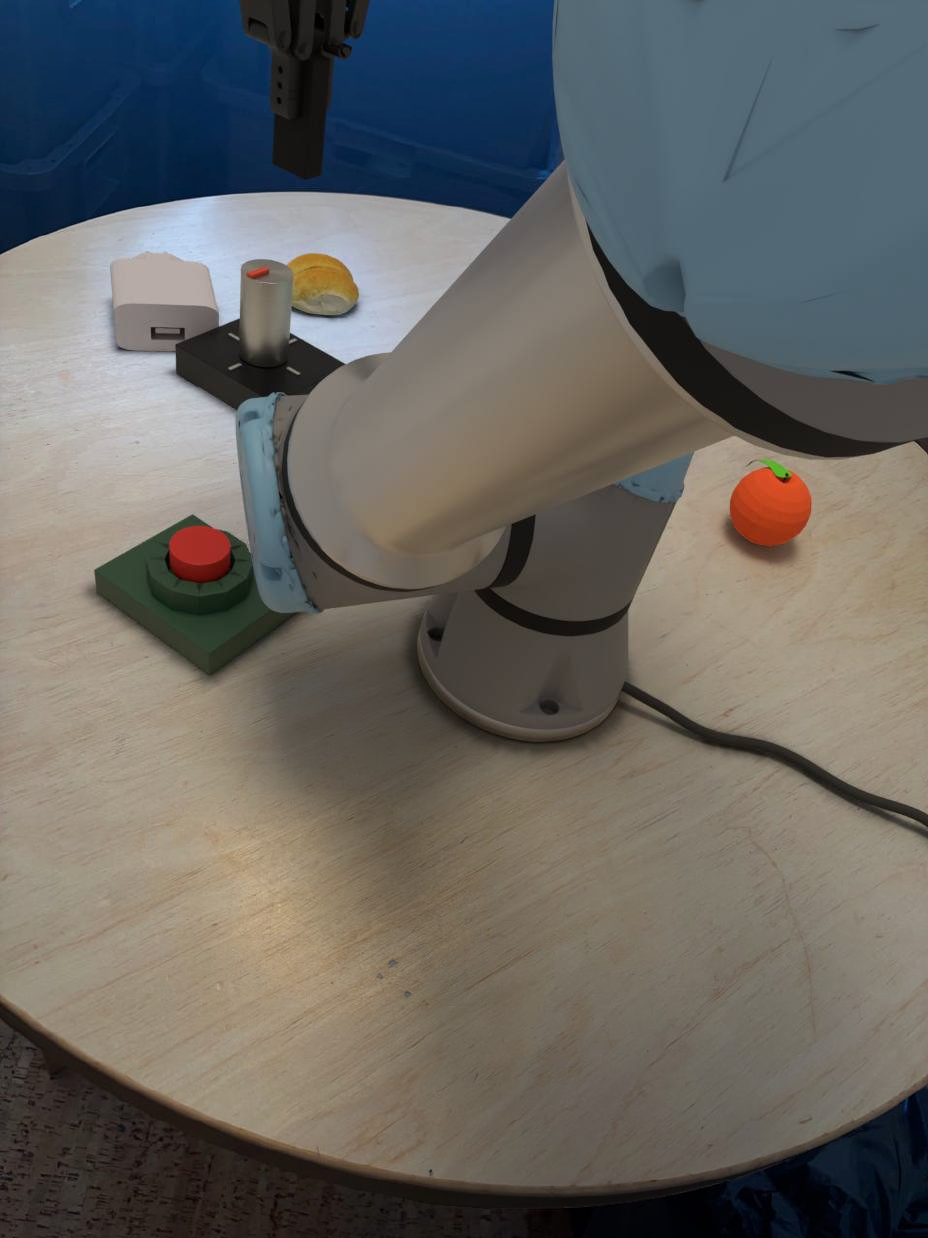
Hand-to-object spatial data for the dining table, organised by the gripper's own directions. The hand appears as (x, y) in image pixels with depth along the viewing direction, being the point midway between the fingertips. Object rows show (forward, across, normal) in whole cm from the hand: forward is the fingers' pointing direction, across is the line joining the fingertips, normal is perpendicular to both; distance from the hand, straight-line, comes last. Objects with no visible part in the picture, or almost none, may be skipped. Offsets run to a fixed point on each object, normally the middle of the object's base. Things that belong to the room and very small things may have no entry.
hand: (296, 168), depth 59 cm
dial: (+23, -12, -13) cm, 29 cm away
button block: (+26, +12, +4) cm, 29 cm away
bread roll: (+27, -29, -21) cm, 45 cm away
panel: (+26, -12, -13) cm, 32 cm away
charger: (+27, -14, -28) cm, 41 cm away
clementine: (+27, -29, +31) cm, 50 cm away
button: (+23, +12, +4) cm, 26 cm away
